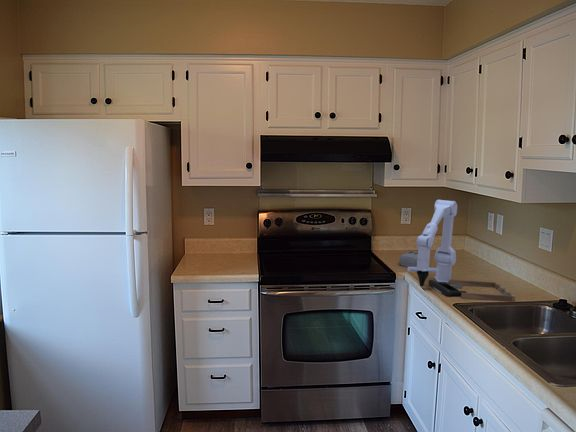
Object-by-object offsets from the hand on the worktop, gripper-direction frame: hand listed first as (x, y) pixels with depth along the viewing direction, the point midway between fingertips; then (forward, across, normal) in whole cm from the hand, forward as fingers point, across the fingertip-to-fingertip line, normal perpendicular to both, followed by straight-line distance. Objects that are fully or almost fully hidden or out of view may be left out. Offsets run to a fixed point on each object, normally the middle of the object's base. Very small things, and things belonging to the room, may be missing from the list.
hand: (421, 285), depth 221 cm
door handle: (+2, +14, 0) cm, 14 cm away
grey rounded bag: (+2, +6, +51) cm, 52 cm away
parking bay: (+2, +28, 0) cm, 28 cm away
